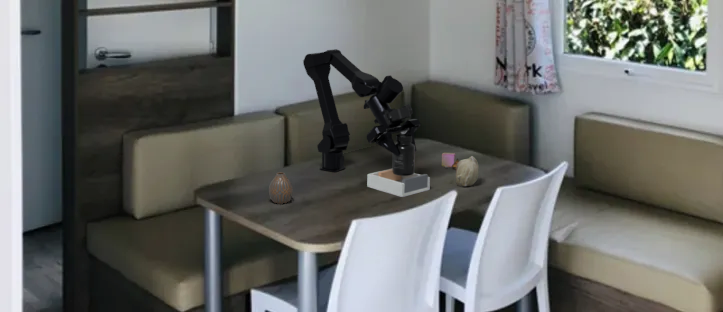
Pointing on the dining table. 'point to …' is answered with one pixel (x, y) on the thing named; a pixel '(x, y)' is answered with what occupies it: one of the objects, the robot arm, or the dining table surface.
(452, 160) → the perfume bottle
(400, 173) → the supplement bottle
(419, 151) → the dining table surface
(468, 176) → the garlic bulb
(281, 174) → the vase
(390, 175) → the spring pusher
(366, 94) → the robot arm
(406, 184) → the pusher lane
